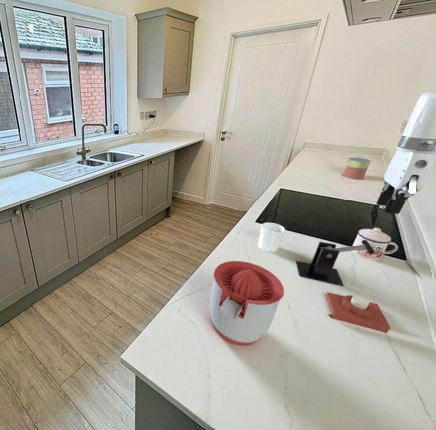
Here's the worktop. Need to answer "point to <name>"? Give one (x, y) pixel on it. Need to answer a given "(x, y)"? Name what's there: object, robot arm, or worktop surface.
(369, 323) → the button housing
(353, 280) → the worktop surface
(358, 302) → the button
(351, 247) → the lever
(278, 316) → the worktop surface
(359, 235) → the teacup with lid
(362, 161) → the canned food
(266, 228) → the white cup
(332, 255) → the bracket
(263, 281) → the citrus juicer
